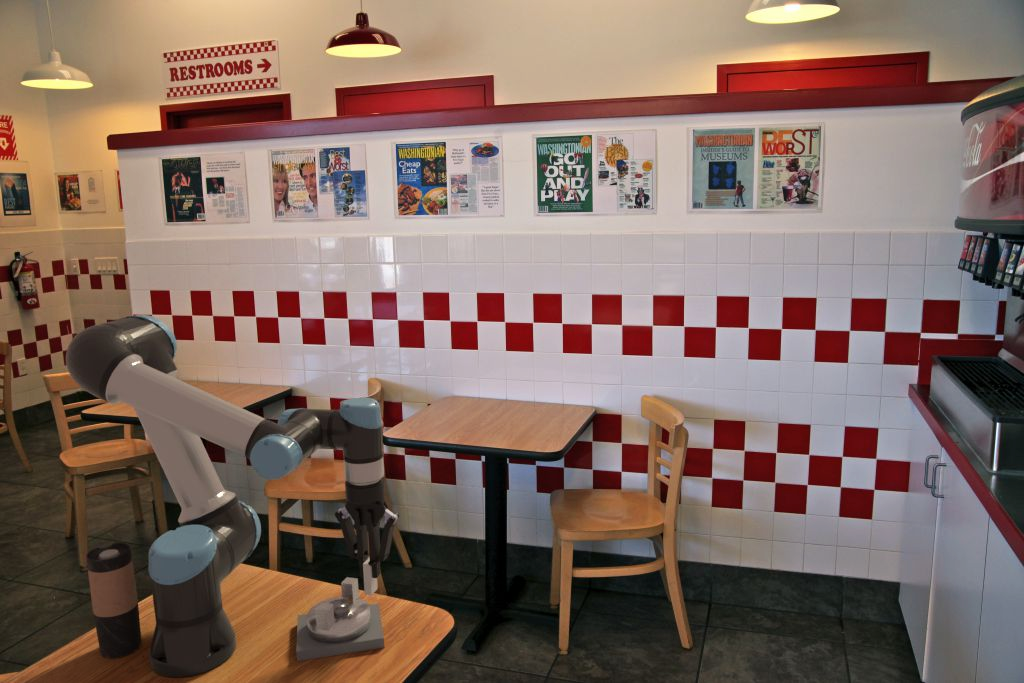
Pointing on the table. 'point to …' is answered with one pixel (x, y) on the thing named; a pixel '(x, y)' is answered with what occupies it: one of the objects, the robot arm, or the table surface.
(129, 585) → the travel mug
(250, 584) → the table surface
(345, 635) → the silver metal dome
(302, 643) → the gray square base plate
